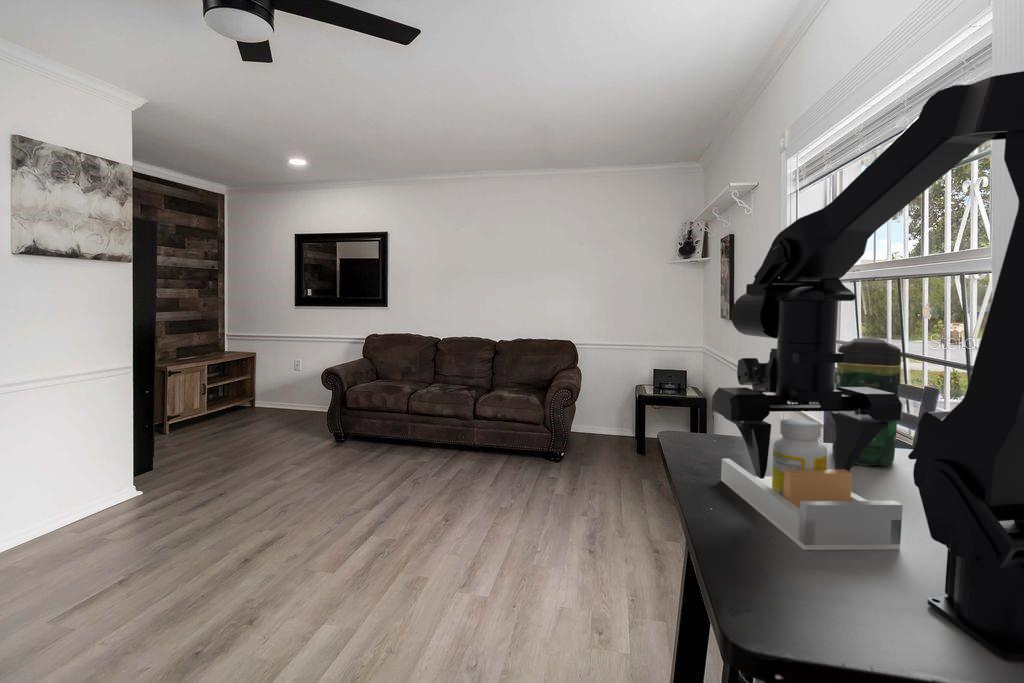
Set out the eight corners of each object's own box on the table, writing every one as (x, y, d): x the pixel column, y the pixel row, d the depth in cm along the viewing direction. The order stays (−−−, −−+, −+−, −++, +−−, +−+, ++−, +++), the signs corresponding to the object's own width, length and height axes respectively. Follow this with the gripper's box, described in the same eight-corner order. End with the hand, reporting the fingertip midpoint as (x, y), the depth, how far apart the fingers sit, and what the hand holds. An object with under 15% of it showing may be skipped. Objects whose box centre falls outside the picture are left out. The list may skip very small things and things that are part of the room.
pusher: (849, 518, 54) (852, 473, 53) (788, 518, 54) (790, 473, 53) (842, 513, 55) (844, 469, 55) (782, 514, 55) (784, 469, 55)
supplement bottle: (813, 498, 60) (817, 418, 59) (833, 517, 55) (837, 430, 54) (765, 495, 61) (767, 416, 60) (779, 514, 56) (783, 427, 55)
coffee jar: (897, 472, 71) (905, 341, 69) (831, 462, 75) (837, 339, 74) (892, 454, 79) (899, 337, 77) (833, 446, 83) (838, 335, 81)
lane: (899, 549, 49) (902, 504, 48) (804, 550, 49) (806, 505, 48) (790, 479, 68) (791, 447, 67) (721, 480, 68) (722, 447, 67)
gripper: (840, 336, 64) (834, 455, 65) (696, 337, 64) (693, 456, 65) (910, 344, 53) (901, 486, 54) (735, 344, 53) (731, 488, 54)
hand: (799, 477), depth 57 cm, fingers open, 9 cm apart
